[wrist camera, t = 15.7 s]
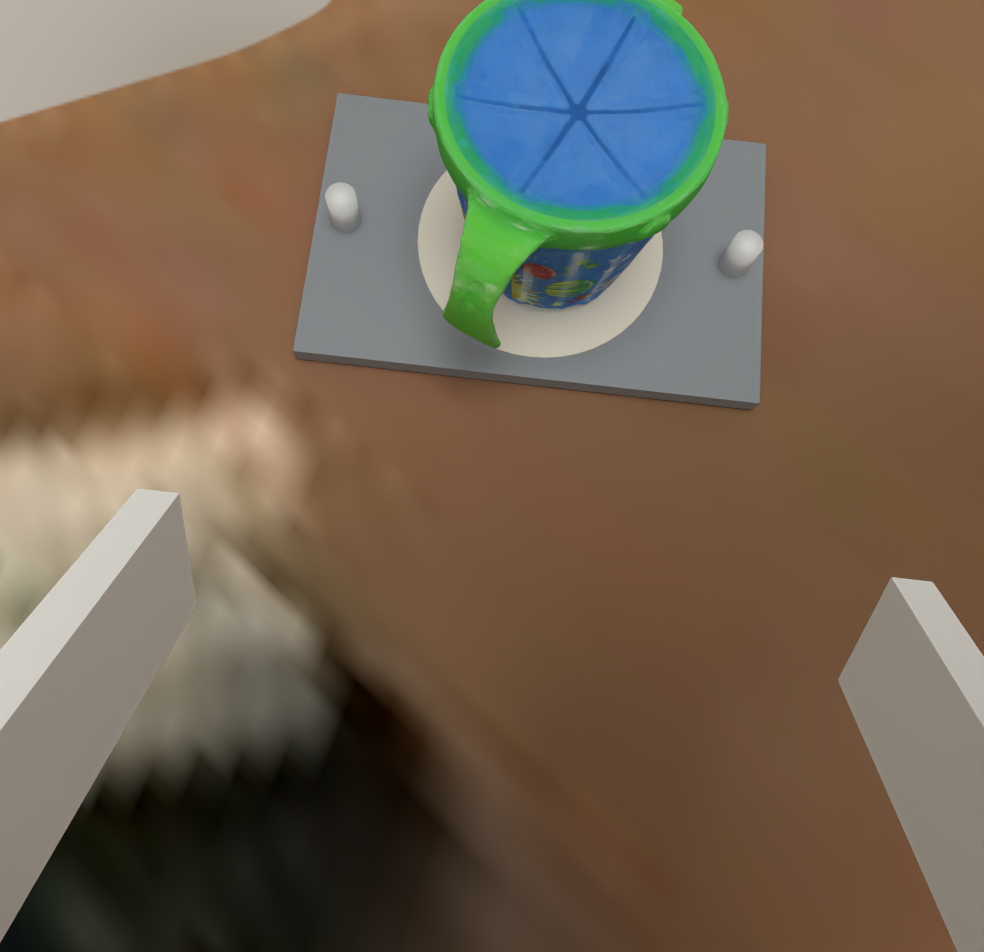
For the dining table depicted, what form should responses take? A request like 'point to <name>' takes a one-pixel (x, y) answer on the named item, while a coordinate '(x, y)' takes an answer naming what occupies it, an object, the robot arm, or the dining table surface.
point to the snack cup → (568, 144)
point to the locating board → (521, 327)
